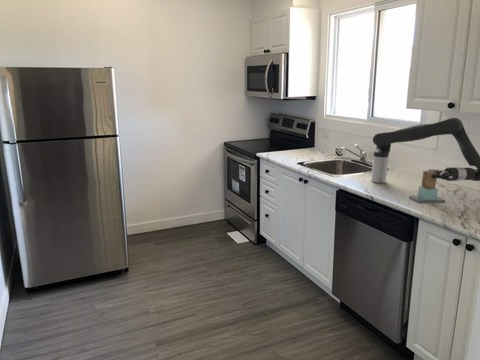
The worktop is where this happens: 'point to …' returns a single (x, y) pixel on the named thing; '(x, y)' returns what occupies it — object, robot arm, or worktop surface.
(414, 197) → the tower base
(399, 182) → the worktop surface
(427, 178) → the walnut brick
